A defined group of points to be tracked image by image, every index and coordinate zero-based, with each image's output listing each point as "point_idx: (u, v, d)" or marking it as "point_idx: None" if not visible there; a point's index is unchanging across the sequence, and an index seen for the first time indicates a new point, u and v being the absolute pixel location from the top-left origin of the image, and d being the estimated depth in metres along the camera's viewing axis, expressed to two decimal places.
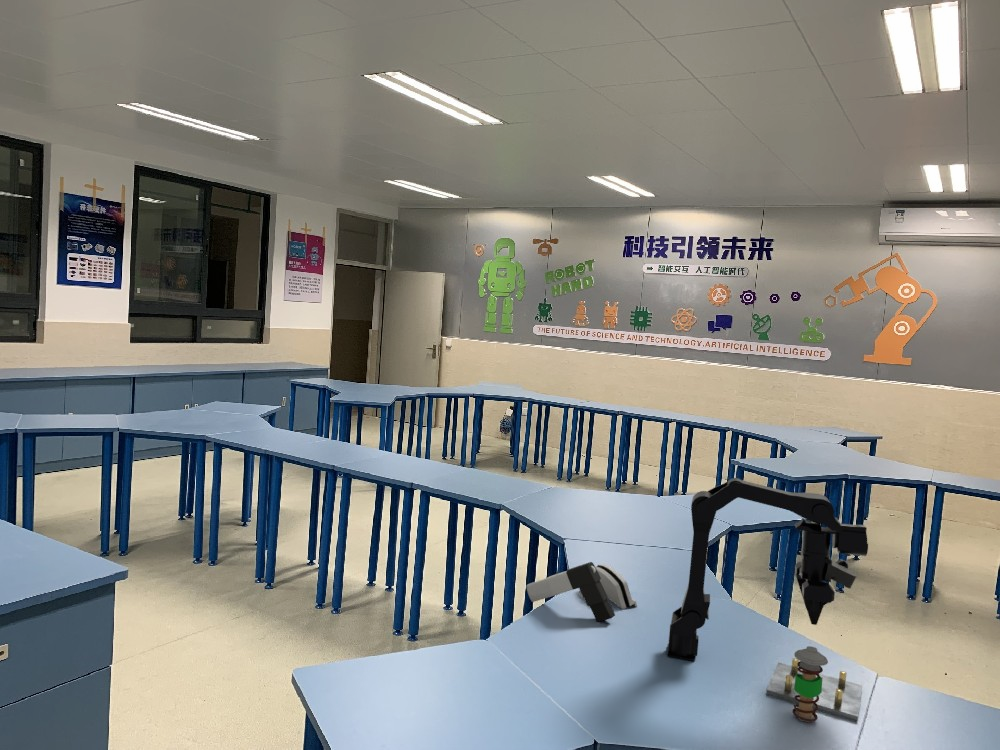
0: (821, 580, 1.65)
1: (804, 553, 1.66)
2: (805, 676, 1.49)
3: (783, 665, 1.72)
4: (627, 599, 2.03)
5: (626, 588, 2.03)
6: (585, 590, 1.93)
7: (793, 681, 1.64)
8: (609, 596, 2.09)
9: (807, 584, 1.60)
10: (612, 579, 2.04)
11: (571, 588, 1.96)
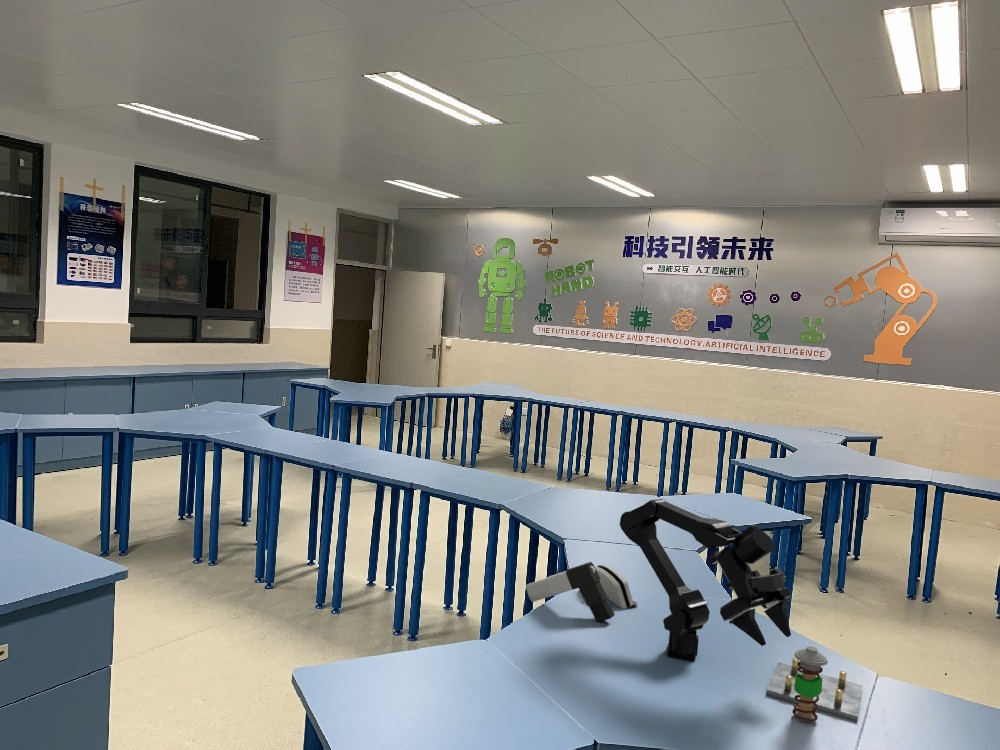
0: (750, 598, 1.59)
1: None
2: (805, 676, 1.49)
3: (783, 665, 1.72)
4: (628, 599, 2.03)
5: (627, 588, 2.03)
6: (585, 590, 1.93)
7: (793, 681, 1.64)
8: (609, 596, 2.08)
9: None
10: (613, 579, 2.04)
11: (570, 588, 1.96)
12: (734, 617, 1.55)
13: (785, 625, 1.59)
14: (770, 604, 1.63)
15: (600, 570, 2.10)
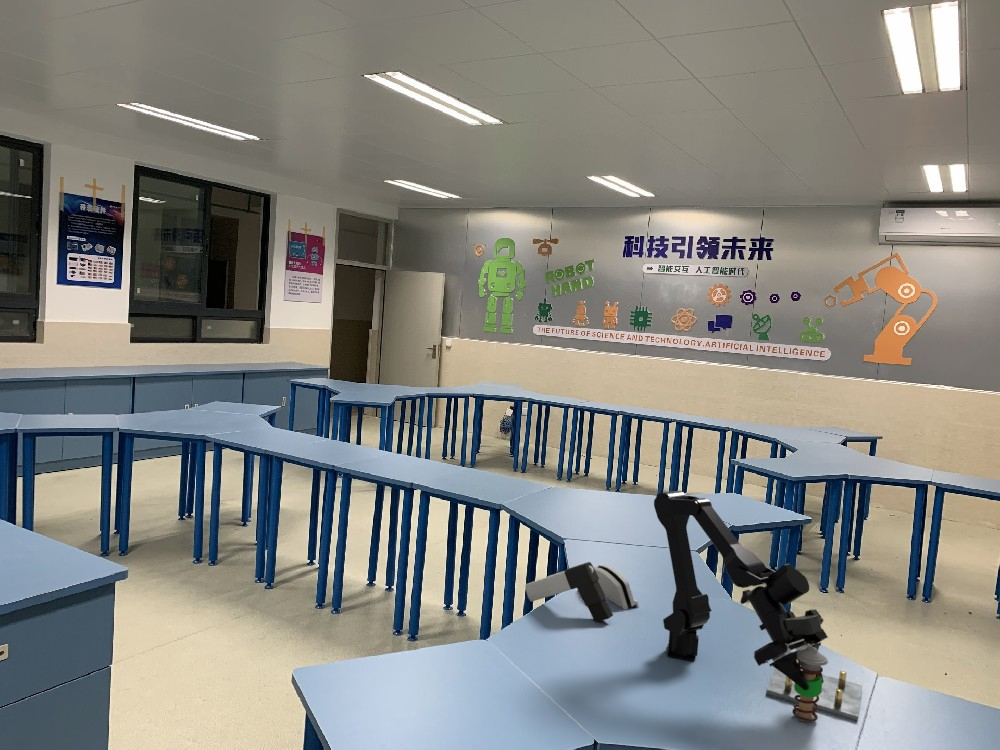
0: (785, 641, 1.51)
1: None
2: (805, 676, 1.49)
3: None
4: (629, 599, 2.03)
5: (628, 588, 2.03)
6: (583, 590, 1.93)
7: None
8: (610, 596, 2.08)
9: None
10: (614, 580, 2.04)
11: (569, 588, 1.96)
12: (775, 660, 1.49)
13: None
14: (800, 648, 1.55)
15: (601, 570, 2.10)
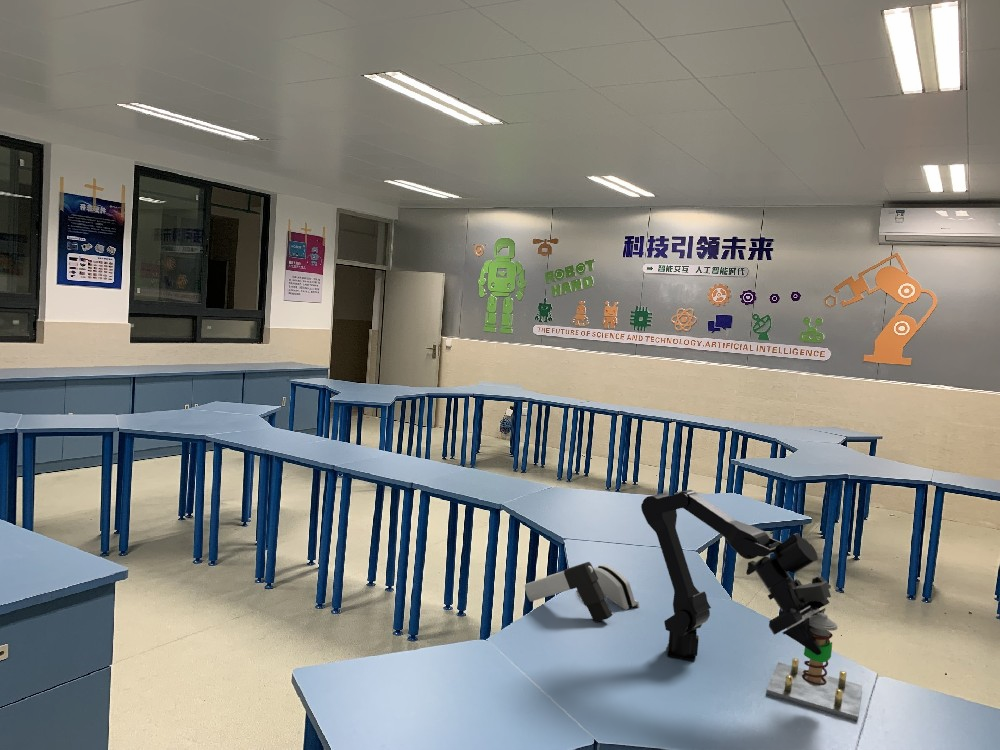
0: (796, 608, 1.55)
1: None
2: None
3: (783, 665, 1.72)
4: (630, 600, 2.03)
5: (629, 589, 2.03)
6: (583, 590, 1.93)
7: (793, 681, 1.64)
8: (611, 597, 2.08)
9: None
10: (614, 580, 2.04)
11: (568, 588, 1.96)
12: (789, 628, 1.52)
13: None
14: (806, 615, 1.59)
15: (601, 571, 2.09)
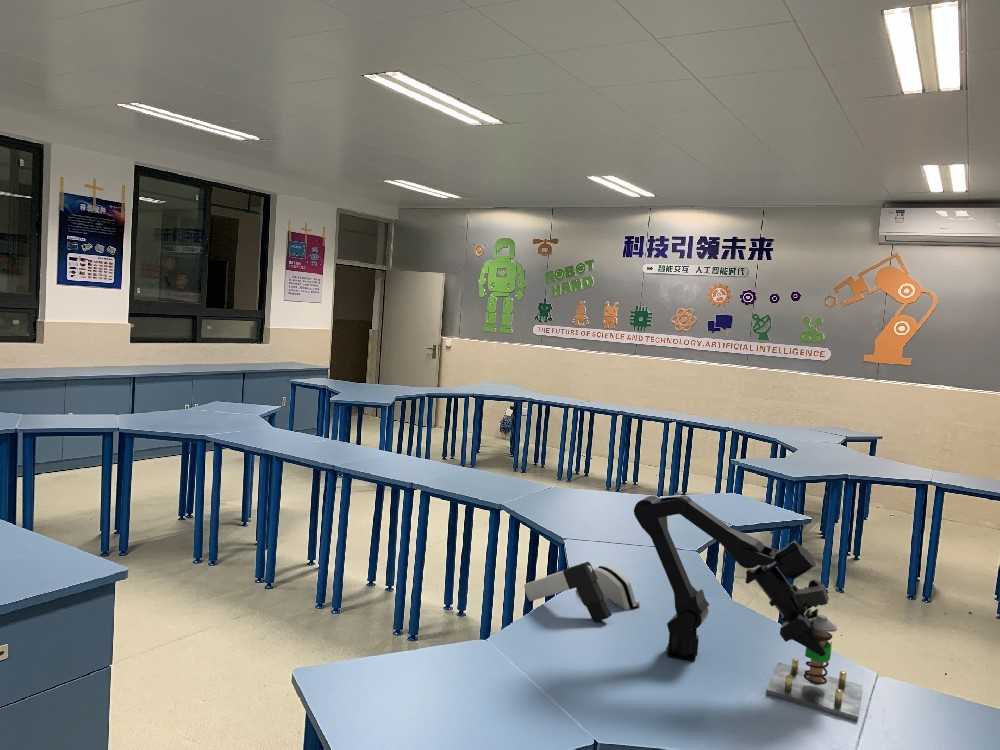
0: (799, 613, 1.61)
1: (770, 599, 1.65)
2: None
3: (783, 665, 1.72)
4: (631, 600, 2.03)
5: (630, 589, 2.03)
6: (582, 590, 1.93)
7: (793, 681, 1.64)
8: (612, 597, 2.08)
9: (780, 628, 1.58)
10: (615, 580, 2.04)
11: (568, 588, 1.96)
12: None
13: None
14: None
15: (602, 571, 2.09)
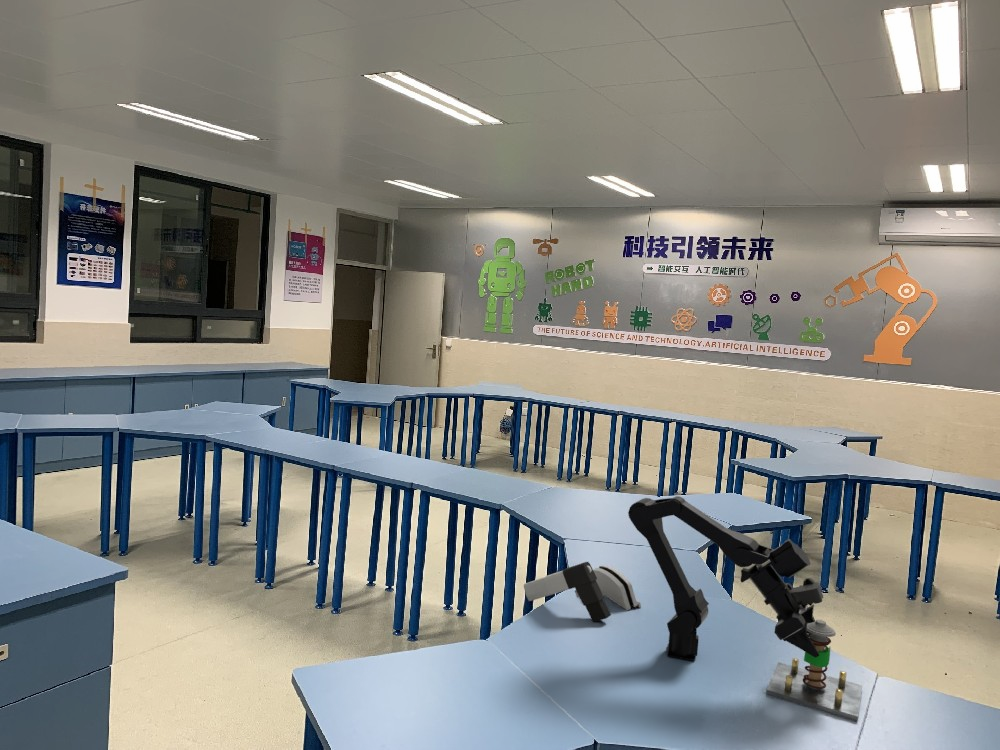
0: (793, 612, 1.61)
1: None
2: (817, 648, 1.60)
3: (783, 665, 1.72)
4: (631, 600, 2.03)
5: (630, 589, 2.03)
6: (581, 590, 1.94)
7: (793, 681, 1.64)
8: (612, 597, 2.08)
9: None
10: (616, 580, 2.04)
11: (567, 587, 1.96)
12: (790, 634, 1.57)
13: None
14: None
15: (603, 571, 2.09)
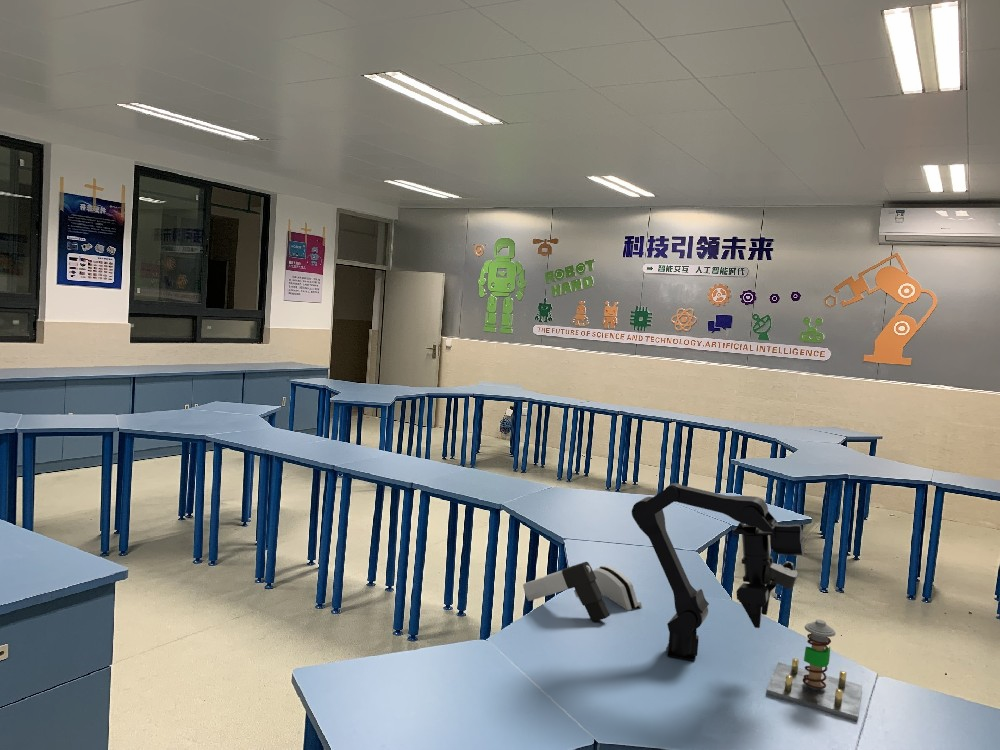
0: (761, 583, 1.65)
1: (743, 556, 1.68)
2: (817, 648, 1.60)
3: (783, 665, 1.72)
4: (632, 600, 2.03)
5: (631, 589, 2.02)
6: (580, 590, 1.94)
7: (793, 681, 1.64)
8: (613, 597, 2.07)
9: (740, 586, 1.62)
10: (617, 581, 2.03)
11: (566, 587, 1.96)
12: None
13: (766, 605, 1.71)
14: None
15: (603, 572, 2.09)
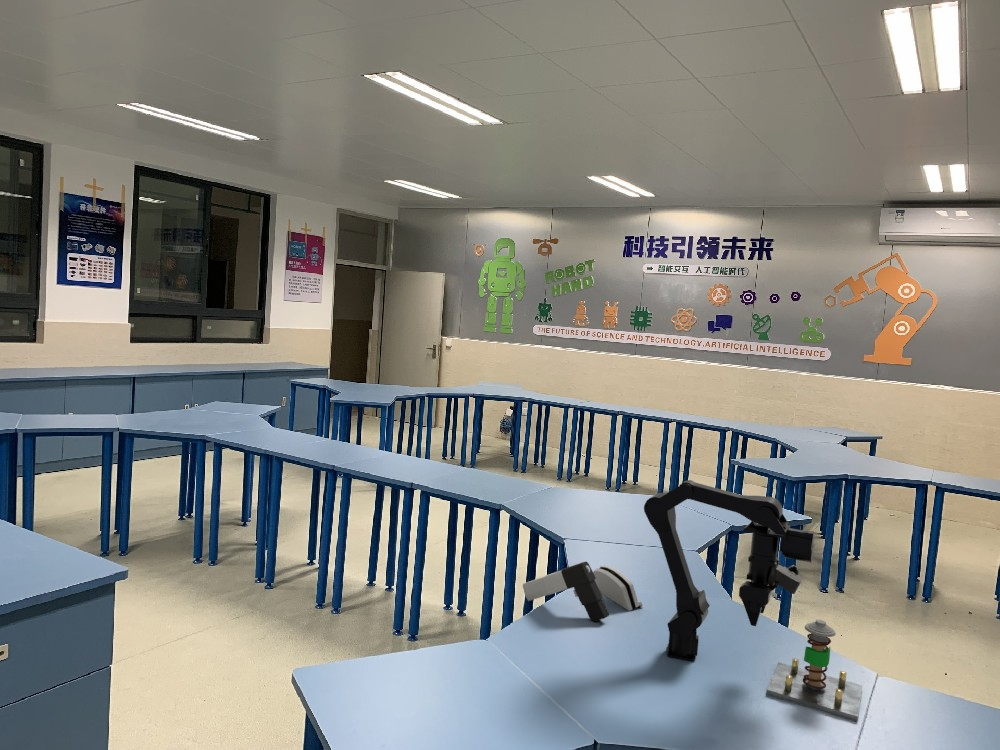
0: (764, 583, 1.65)
1: (750, 554, 1.67)
2: (817, 648, 1.60)
3: (783, 665, 1.72)
4: (633, 601, 2.02)
5: (632, 590, 2.02)
6: (580, 590, 1.94)
7: (793, 681, 1.64)
8: (613, 598, 2.07)
9: (744, 584, 1.62)
10: (618, 581, 2.03)
11: (566, 587, 1.96)
12: None
13: (764, 604, 1.72)
14: None
15: (604, 572, 2.09)
